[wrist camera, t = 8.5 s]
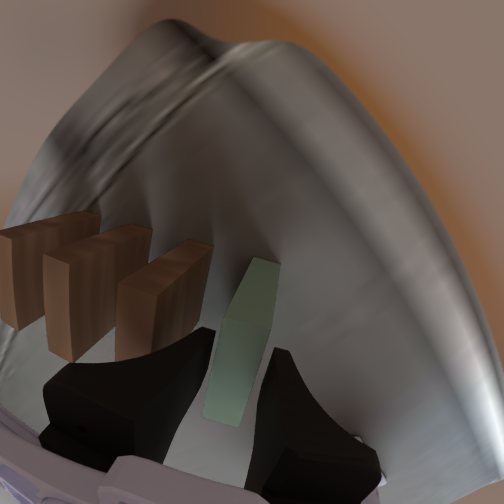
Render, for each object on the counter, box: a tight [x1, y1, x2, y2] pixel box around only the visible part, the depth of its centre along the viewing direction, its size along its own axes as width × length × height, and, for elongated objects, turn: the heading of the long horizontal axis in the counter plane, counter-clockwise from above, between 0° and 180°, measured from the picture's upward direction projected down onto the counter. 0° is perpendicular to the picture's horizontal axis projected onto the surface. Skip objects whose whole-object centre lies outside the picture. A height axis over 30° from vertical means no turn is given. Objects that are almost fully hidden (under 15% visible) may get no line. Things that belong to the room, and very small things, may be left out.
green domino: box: [201, 257, 281, 427], centre depth 14 cm, size 2×5×8 cm, turn 166°
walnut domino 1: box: [0, 211, 101, 331], centre depth 15 cm, size 2×5×8 cm, turn 167°
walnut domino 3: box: [115, 239, 214, 362], centre depth 15 cm, size 2×5×8 cm, turn 166°
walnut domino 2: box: [43, 224, 153, 363], centre depth 15 cm, size 2×5×8 cm, turn 167°
